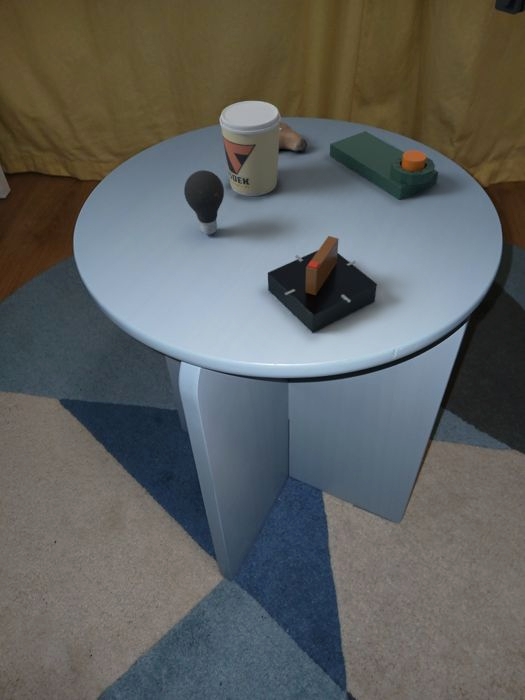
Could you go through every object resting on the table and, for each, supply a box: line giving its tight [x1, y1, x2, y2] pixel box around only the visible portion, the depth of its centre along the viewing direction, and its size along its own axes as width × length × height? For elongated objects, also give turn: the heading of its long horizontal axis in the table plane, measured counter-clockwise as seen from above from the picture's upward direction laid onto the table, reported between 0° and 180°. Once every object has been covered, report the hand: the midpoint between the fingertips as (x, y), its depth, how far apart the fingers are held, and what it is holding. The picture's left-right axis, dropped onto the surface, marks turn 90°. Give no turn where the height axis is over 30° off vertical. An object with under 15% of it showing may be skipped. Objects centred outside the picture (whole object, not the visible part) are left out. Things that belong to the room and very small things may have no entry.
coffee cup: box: [219, 100, 282, 197], centre depth 88 cm, size 9×9×12 cm
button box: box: [329, 130, 439, 200], centre depth 93 cm, size 19×8×4 cm, turn 33°
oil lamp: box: [279, 121, 308, 152], centre depth 100 cm, size 9×4×8 cm
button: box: [401, 149, 427, 171], centre depth 87 cm, size 4×4×2 cm
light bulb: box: [183, 169, 225, 236], centre depth 80 cm, size 6×6×10 cm
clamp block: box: [267, 249, 378, 334], centre depth 72 cm, size 11×11×3 cm
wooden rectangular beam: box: [306, 235, 339, 295], centre depth 69 cm, size 7×1×4 cm, turn 153°
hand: (509, 10), depth 66 cm, fingers closed
